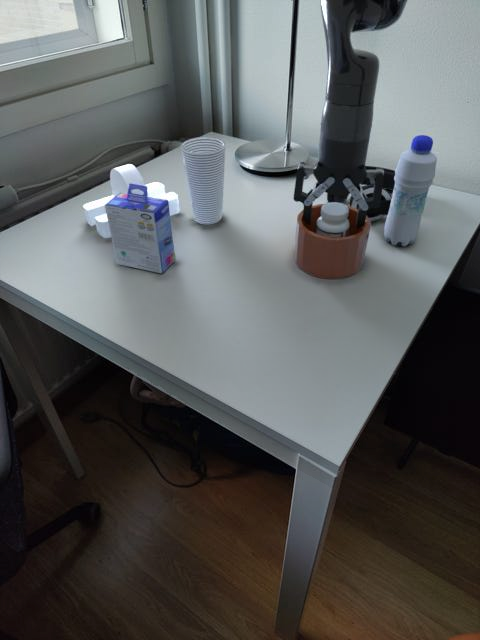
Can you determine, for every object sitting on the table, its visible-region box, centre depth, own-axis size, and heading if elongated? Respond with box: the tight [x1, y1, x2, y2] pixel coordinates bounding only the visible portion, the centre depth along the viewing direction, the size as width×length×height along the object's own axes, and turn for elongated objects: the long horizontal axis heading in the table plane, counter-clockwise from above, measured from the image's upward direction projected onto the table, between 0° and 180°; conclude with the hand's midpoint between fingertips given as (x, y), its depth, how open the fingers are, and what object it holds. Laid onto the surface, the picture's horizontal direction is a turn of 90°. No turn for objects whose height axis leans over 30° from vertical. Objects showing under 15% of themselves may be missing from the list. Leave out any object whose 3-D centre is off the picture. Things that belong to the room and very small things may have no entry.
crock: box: [293, 203, 371, 280], centre depth 83 cm, size 13×13×8 cm
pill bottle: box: [316, 202, 350, 238], centre depth 82 cm, size 6×6×10 cm
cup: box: [180, 136, 226, 225], centre depth 93 cm, size 8×8×16 cm
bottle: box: [383, 134, 438, 247], centre depth 83 cm, size 7×7×20 cm
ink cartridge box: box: [105, 184, 176, 274], centre depth 81 cm, size 10×6×14 cm, turn 70°
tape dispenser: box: [82, 163, 180, 239], centre depth 95 cm, size 10×18×11 cm, turn 127°
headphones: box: [326, 165, 395, 223], centre depth 99 cm, size 18×8×20 cm
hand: (333, 224), depth 81 cm, fingers open, 8 cm apart
